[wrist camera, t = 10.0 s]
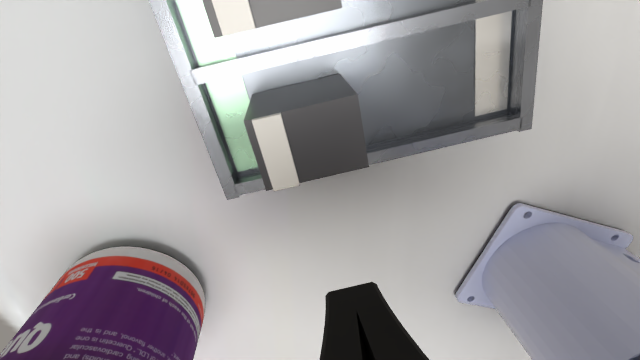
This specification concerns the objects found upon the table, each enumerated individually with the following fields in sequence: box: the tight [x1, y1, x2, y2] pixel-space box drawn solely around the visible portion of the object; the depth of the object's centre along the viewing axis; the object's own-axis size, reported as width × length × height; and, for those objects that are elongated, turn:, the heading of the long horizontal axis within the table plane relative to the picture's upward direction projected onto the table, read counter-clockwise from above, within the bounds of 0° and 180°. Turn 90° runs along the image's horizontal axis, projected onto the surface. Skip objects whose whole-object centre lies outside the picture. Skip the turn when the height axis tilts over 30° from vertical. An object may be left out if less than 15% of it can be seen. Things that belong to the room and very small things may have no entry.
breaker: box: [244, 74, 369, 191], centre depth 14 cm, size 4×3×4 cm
